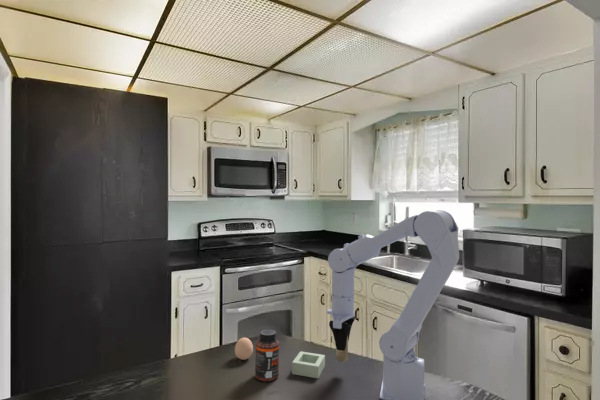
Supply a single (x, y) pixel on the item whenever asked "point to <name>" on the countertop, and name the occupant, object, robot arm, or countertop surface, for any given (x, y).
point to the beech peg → (342, 353)
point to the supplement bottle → (267, 356)
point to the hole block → (308, 364)
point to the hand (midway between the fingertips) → (342, 347)
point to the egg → (243, 348)
